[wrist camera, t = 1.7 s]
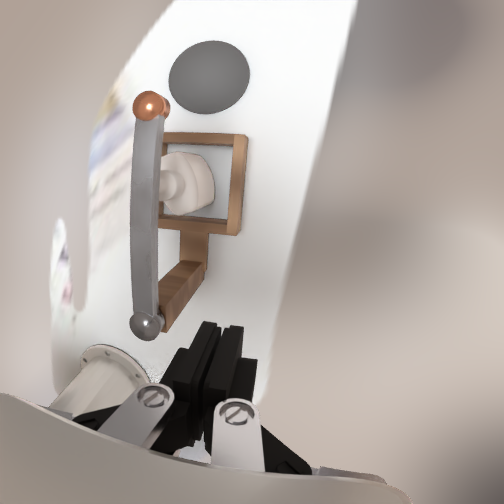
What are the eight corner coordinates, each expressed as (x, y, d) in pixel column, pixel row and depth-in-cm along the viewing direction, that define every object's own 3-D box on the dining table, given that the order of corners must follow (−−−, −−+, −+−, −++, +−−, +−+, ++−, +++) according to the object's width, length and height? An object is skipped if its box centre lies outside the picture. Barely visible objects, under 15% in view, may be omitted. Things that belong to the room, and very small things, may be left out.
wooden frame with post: (236, 283, 35) (212, 340, 22) (155, 272, 35) (101, 318, 23) (248, 138, 30) (227, 117, 18) (160, 135, 31) (98, 121, 19)
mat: (245, 115, 30) (245, 114, 29) (166, 114, 30) (164, 113, 30) (252, 42, 27) (252, 40, 27) (176, 44, 28) (174, 42, 27)
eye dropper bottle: (223, 159, 31) (190, 152, 20) (212, 209, 33) (176, 231, 21) (185, 152, 31) (135, 144, 20) (175, 201, 33) (123, 218, 21)
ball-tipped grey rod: (166, 333, 23) (158, 345, 21) (139, 327, 23) (129, 338, 21) (174, 95, 18) (164, 89, 16) (143, 97, 18) (131, 92, 16)
